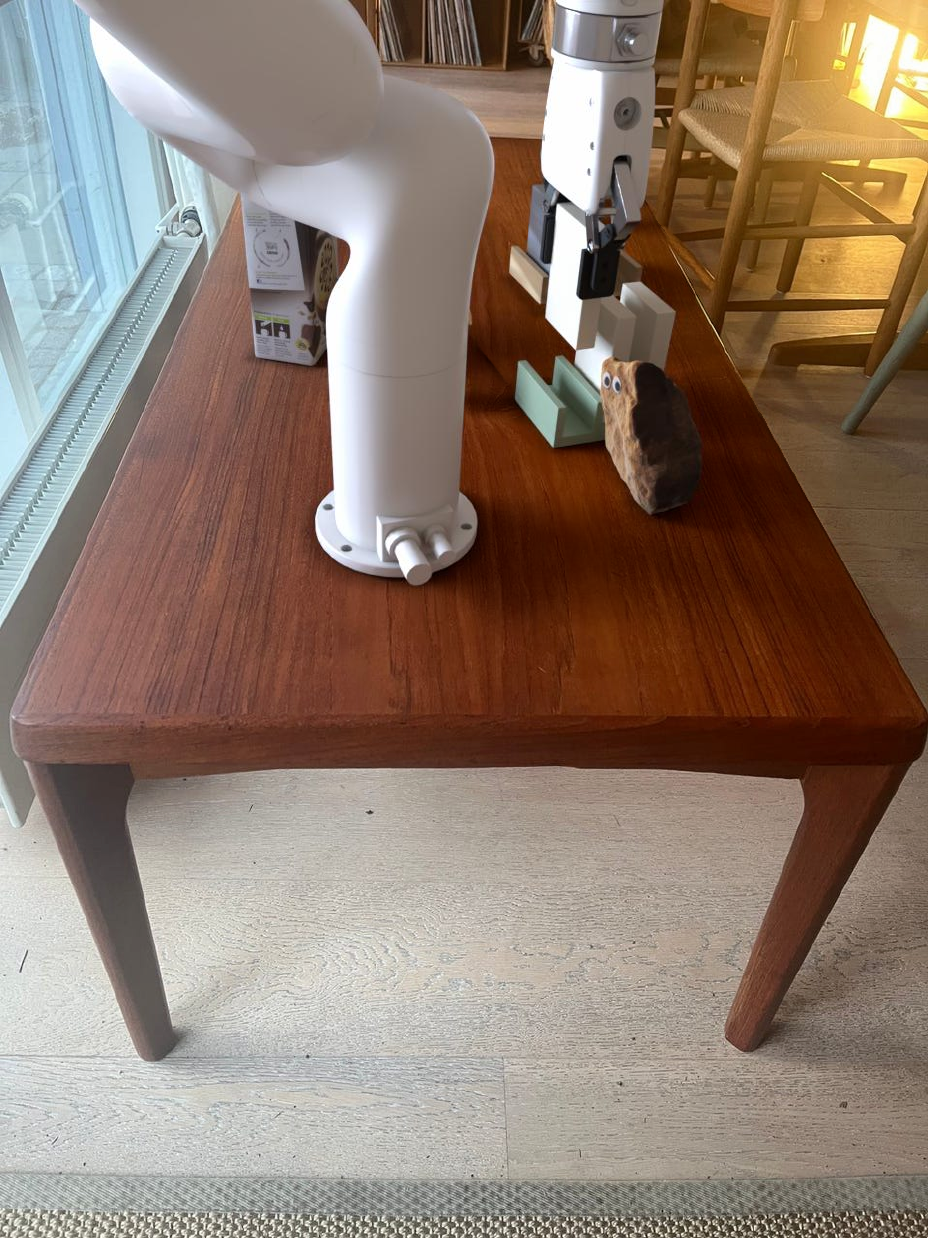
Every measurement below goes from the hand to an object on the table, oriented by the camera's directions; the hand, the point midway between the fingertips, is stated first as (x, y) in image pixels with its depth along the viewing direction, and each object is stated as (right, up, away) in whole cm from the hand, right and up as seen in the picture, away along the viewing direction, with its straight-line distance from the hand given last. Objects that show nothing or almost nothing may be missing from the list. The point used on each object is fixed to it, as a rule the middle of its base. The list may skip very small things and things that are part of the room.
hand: (575, 276), depth 82 cm
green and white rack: (+3, -9, +10) cm, 14 cm away
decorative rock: (+6, -17, +2) cm, 18 cm away
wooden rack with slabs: (+3, +9, +31) cm, 32 cm away
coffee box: (-26, -1, +18) cm, 32 cm away
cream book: (0, -4, +3) cm, 5 cm away
